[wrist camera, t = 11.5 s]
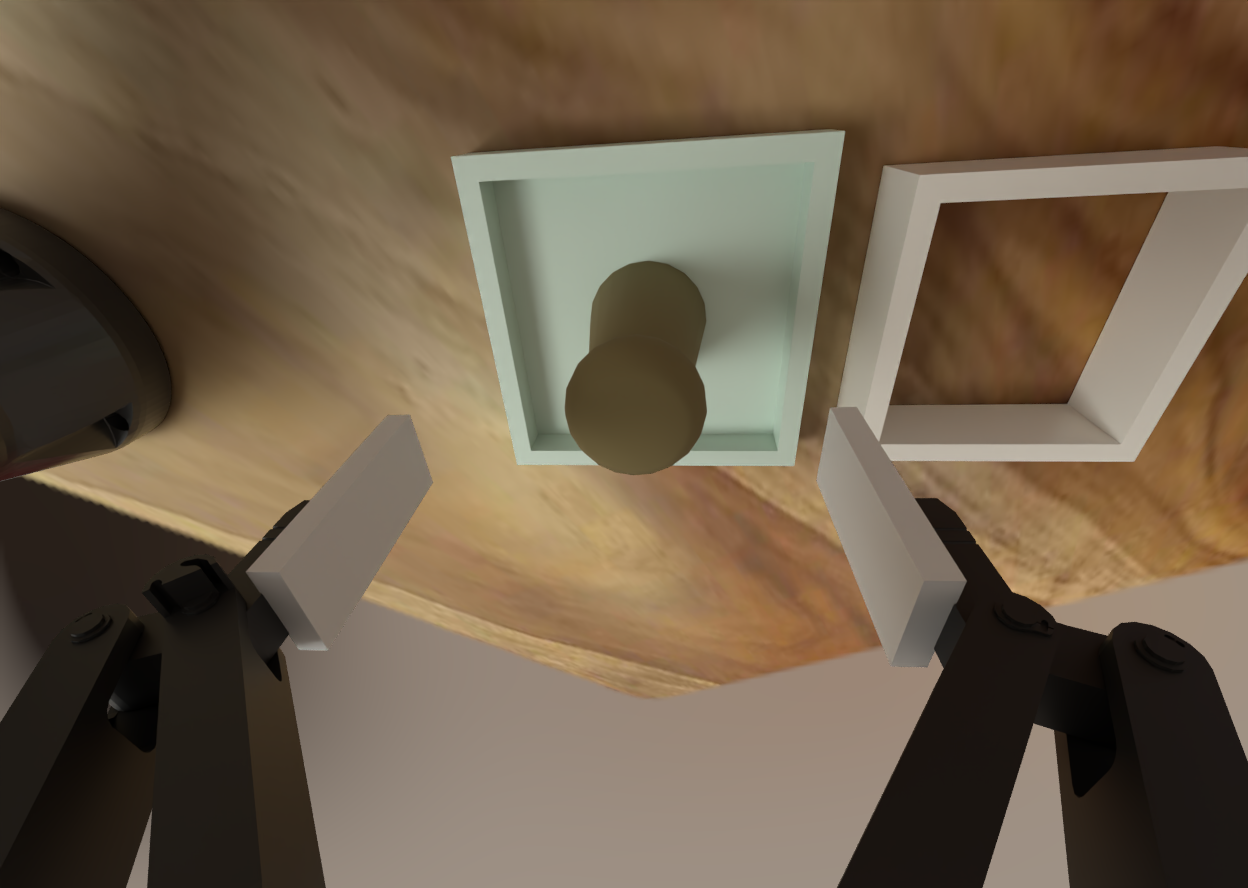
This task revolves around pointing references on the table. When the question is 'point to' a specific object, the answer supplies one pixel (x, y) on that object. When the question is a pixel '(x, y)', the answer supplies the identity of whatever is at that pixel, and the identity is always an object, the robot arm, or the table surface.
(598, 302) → the cork
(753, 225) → the tray
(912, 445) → the frame
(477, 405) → the table surface
